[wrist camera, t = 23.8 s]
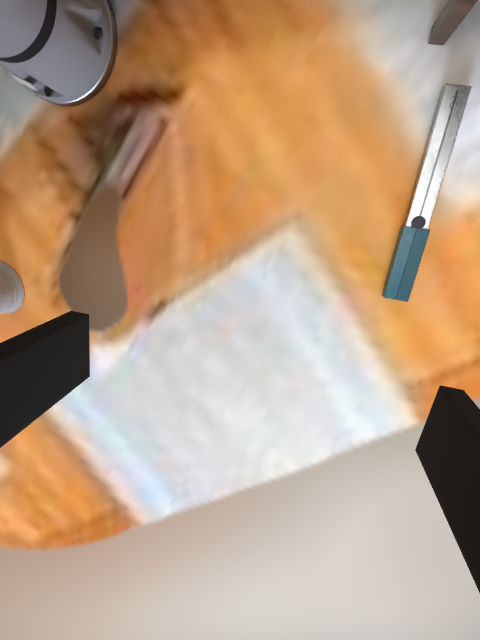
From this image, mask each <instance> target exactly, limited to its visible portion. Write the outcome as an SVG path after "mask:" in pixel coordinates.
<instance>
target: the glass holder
mask: <svg viewBox="0 0 480 640" xmlns="http://www.w3.org/2000/svg"><path fill="white" fill-rule="evenodd" d="M23 300H24V287H23V284H22V281H21V279H20V277H19V275H18V274H17V273H16V271H15V270H14V269H13V268H12V267H10V266H9V265H7V264H6V263H3V262H1V261H0V313H5V314H8V313H13V312H15V311H17V310H18V309H19V308H20V307H21V305H22V303H23Z"/></svg>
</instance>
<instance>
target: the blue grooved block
mask: <svg viewBox="0 0 480 640" xmlns="http://www.w3.org/2000/svg"><path fill="white" fill-rule="evenodd" d="M470 90H471V86H463V85H452V84H446V85H445V86H444V87H443V89H442V93H441V96H440V100H439V103H438V107H437V110H436V114H435V117H434V121H433V124H432V128H431V131H430V135H429V138H428V142H427V145H426V149H425V152H424V156H423V159H422V163H421V167H420V170H419V174H418V177H417V181H416V184H415V188H414V191H413V195H412V198H411V202H410V205H409V209H408V212H407V216H406V219H405V223H404V226H402V227H401V231H400V234H399V238H398V241H397V245H396V248H395V252H394V255H393V259H392V262H391V266H390V269H389V273H388V276H387V280H386V283H385V287H384V291H383V294H382V296H383V297H384V298H390V299H396V300H401V301H406V302H408V300H409V296H410V293H411V290H412V287H413V283H414V280H415V277H416V274H417V270H418V267H419V264H420V261H421V257H422V254H423V251H424V248H425V244H426V241H427V238H428V235H429V232H430V230H428V227H429V224H430V220H431V217H432V214H433V211H434V207H435V204H436V201H437V198H438V194H439V191H440V188H441V185H442V181H443V178H444V175H445V172H446V168H447V165H448V162H449V158H450V155H451V152H452V149H453V145H454V142H455V139H456V136H457V132H458V129H459V126H460V123H461V119H462V116H463V113H464V110H465V106H466V103H467V100H468V97H469V93H470Z"/></svg>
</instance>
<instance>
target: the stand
mask: <svg viewBox="0 0 480 640" xmlns="http://www.w3.org/2000/svg"><path fill="white" fill-rule="evenodd" d="M477 1H478V0H450V1H449V2H448V4H447V5H446V7H445V8H444V10H443V11H442V13H441V14H440V16H439V18H438V19H437V21H436V22H435V24H434V25H433V27H432V31H431V35H430V38H429V42H428V44H438V45H444V44H445V42H446V41H447V40H448V38H449V37H450V36H451V34H452V33H453V32H454V31H455V29H456V28H457V27H458V25H459V24H460V23H461V22H462V20H463V19H464V18H465V16H466V15H467V14H468V12H469V11H470V10H471V9H472V7H473V6H474V5H475V3H476V2H477Z"/></svg>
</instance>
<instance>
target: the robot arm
mask: <svg viewBox="0 0 480 640" xmlns="http://www.w3.org/2000/svg"><path fill="white" fill-rule="evenodd" d="M116 46H117V34H116V25H115V20H114V15H113V12H112V9H111V6H110V4H109V1H108V0H0V63H1V64H2V65H3V66H4V67H5V68H6V69H7V70H8V71H9V72H10V73H11V75H12V76H13V77H14V78H15V79H16V80H17V81H18V82H20V83H21V84H22V85H23V86H24V87H25V88H26V89H28V90H29V91H30V92H32V93H33V94H35V95H36V96H38V97H40V98H42V99H44V100H46V101H49V102H51V103H54V104H57V105H62V106H72V105H77V104H80V103H83V102H85V101H87V100H89V99H90V98H92V97H93V96H94V95H95V94H96V93H97V92H98V91H99V90H100V89H101V88H102V87H103V85H104V84H105V82H106V81H107V79H108V77H109V75H110V73H111V70H112V67H113V64H114V60H115V55H116ZM88 377H90V361H89V314H84V313H79V312H74V311H70V312H68V313H65V314H63V315H61V316H59V317H57V318H54V319H52V320H50V321H48V322H46V323H43V324H41V325H39V326H37V327H35V328H32V329H30V330H28V331H26V332H24V333H21V334H19V335H17V336H15V337H13V338H10V339H8V340H6V341H4V342H2V343H0V448H1V447H2V446H3V445H4V444H6V443H7V442H8V441H9V440H11V439H12V438H13V437H14V436H16V435H17V434H18V433H19V432H21V431H22V430H23V429H24V428H26V427H27V426H28V425H29V424H31V423H32V422H33V421H34V420H36V419H37V418H38V417H39V416H41V415H42V414H43V413H44V412H46V411H47V410H48V409H49V408H51V407H52V406H53V405H54V404H56V403H57V402H58V401H59V400H61V399H62V398H63V397H64V396H66V395H67V394H68V393H70V392H71V391H72V390H73V389H75V388H76V387H77V386H78V385H80V384H81V383H82V382H83V381H85V380H86V379H87V378H88ZM416 452H417V454H418V457H419V459H420V461H421V463H422V466H423V468H424V470H425V472H426V474H427V477H428V479H429V481H430V483H431V486H432V488H433V490H434V492H435V495H436V497H437V499H438V501H439V503H440V506H441V508H442V510H443V512H444V515H445V517H446V519H447V521H448V523H449V526H450V528H451V530H452V532H453V535H454V537H455V539H456V541H457V543H458V545H459V548H460V550H461V552H462V555H463V557H464V559H465V561H466V563H467V566H468V568H469V570H470V572H471V575H472V577H473V579H474V581H475V583H476V585H477V588H478V590H479V592H480V409H479V408H478V407H477V406H476V404H475V403H474V402H473V401H472V400H471V399H470V397H469V396H468V395H467V394H466V393H465V391H464V390H460V389H455V388H450V387H445V386H440V387H439V389H438V392H437V395H436V397H435V400H434V402H433V405H432V408H431V410H430V413H429V415H428V418H427V421H426V423H425V426H424V429H423V431H422V434H421V436H420V439H419V442H418V444H417V447H416Z"/></svg>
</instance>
